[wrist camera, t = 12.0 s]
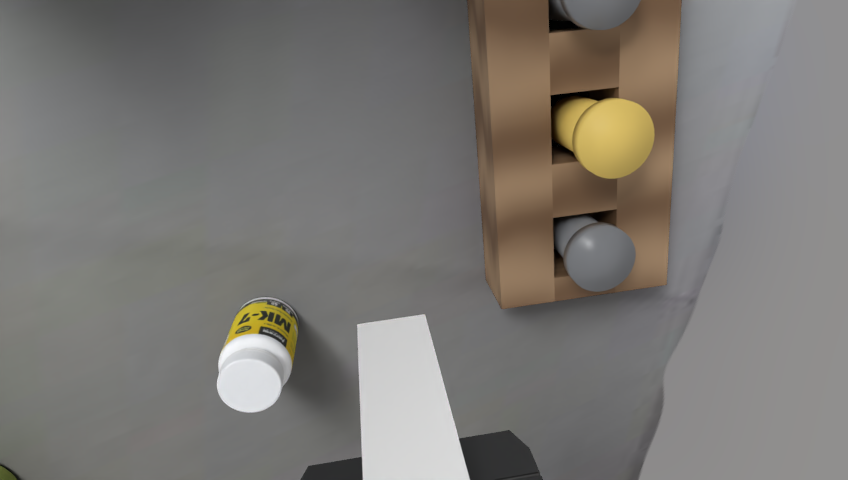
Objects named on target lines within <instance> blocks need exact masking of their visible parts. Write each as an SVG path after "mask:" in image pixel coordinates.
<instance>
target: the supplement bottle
mask: <svg viewBox="0 0 848 480" xmlns="http://www.w3.org/2000/svg"><path fill="white" fill-rule="evenodd" d="M298 330H299V323H298V318H297V316H296V314H295V312H294V310H293V309H292V308H291V307H290V306H289V305H288V304H287V303H285V302H283V301H281V300H279V299H276V298H271V297H262V298H256V299H253V300H251V301H249V302H247V303H246V304H244V305H243V306H242V307H241V308H240V310H239V311H238V313H237V315H236V317H235V319H234V322H233V324H232V326H231V329H230V331H229V334H228V336H227V339H226V341H225V344H224V346H223V349H222V351H221V354H220V357H219V362H218V368H219V376H218V380H217V389H218V393H219V395H220V397H221V399H222V400H223V401H224V402H225V403H226V404H227V405H228V406H229V407H231V408H233V409H235V410H238V411H241V412H249V413H251V412H259V411H262V410H265V409H267V408H268V407H270V406H271V405H273V404H274V403H275V402H276V401H277V399H278V398H279V396H280V394H281V391H282V387H283V386H284V384H285V383H286V382H287V380H288V379H289V376H290V374H291V370H292V365H293V359H294V353H295V348H296V342H297V336H298Z"/></svg>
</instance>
